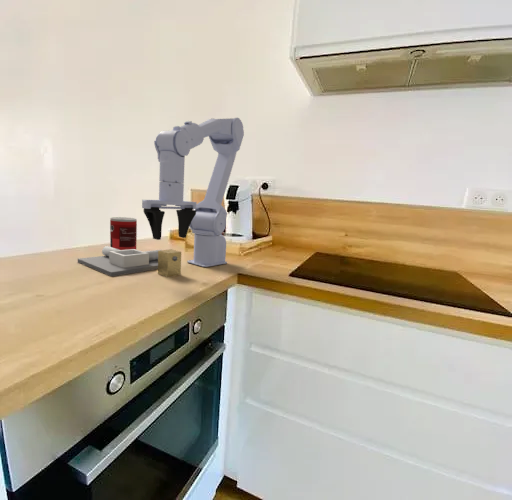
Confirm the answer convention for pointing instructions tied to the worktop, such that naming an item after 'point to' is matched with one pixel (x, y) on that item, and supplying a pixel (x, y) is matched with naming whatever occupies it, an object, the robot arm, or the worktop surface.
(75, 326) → the worktop surface
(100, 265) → the shaft board
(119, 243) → the canned food
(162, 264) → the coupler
